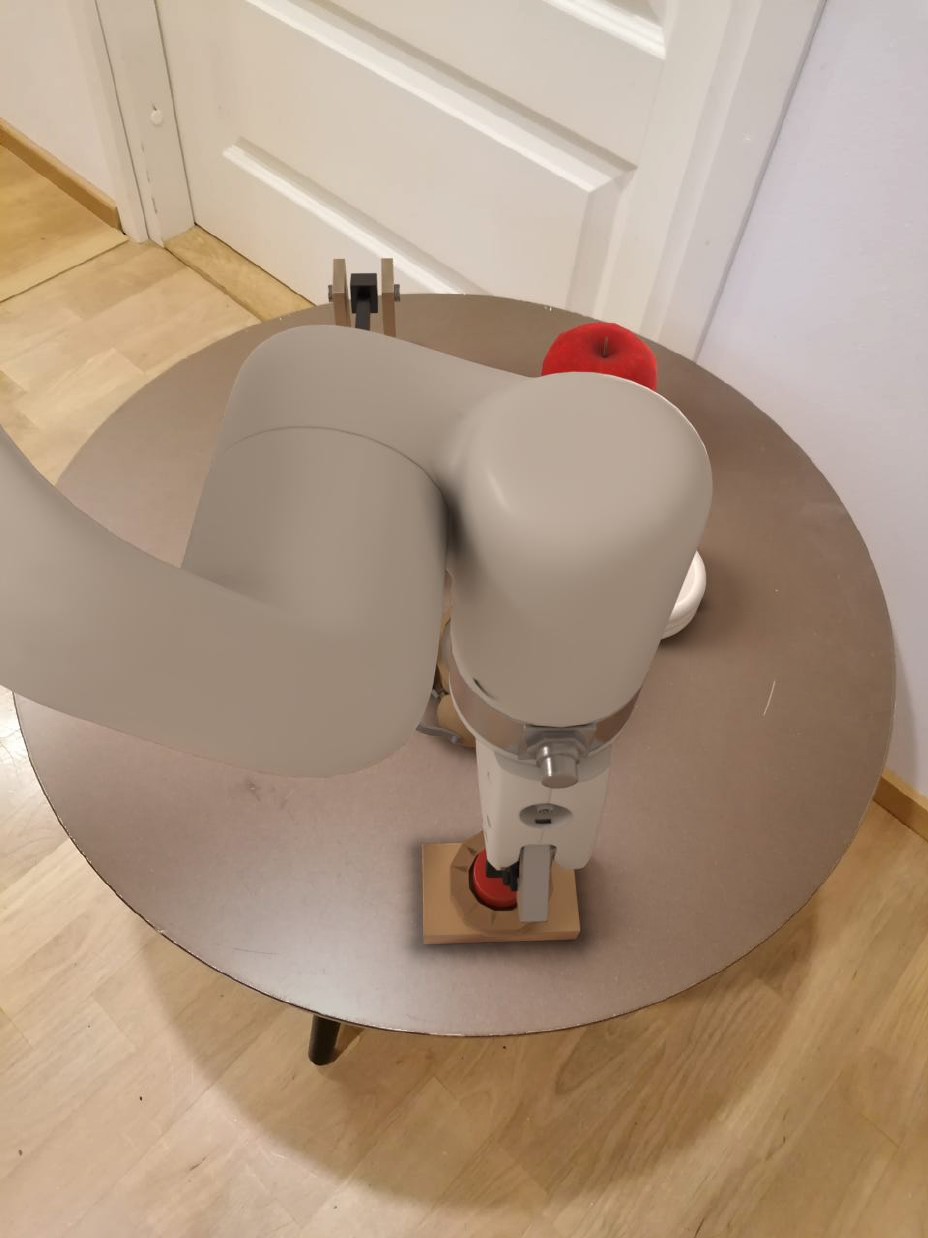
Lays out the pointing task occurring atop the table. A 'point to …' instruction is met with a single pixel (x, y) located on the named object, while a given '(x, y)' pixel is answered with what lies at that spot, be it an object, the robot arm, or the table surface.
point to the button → (491, 886)
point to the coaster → (687, 598)
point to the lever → (363, 298)
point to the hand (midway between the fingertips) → (512, 826)
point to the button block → (470, 919)
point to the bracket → (341, 299)
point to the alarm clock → (446, 695)
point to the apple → (602, 354)
